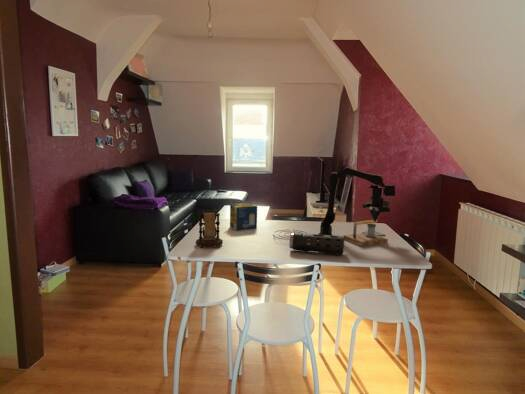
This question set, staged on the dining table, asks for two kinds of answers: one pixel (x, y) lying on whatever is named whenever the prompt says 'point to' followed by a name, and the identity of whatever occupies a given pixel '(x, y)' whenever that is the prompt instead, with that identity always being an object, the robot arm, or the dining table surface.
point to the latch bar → (361, 224)
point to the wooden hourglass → (209, 230)
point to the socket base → (365, 239)
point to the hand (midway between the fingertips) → (375, 221)
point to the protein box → (243, 216)
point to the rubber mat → (377, 233)
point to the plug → (371, 230)
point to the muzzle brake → (317, 243)
